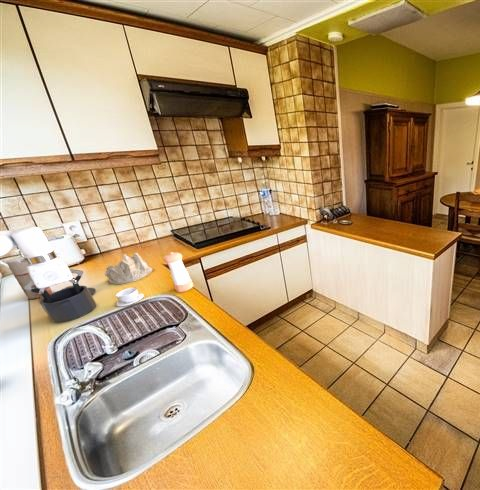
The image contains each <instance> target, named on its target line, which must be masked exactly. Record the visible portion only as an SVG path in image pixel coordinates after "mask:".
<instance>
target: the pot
mask: <svg viewBox="0 0 480 490" xmlns="http://www.w3.org/2000/svg"><path fill="white" fill-rule="evenodd" d="M79 286H80V287H81V289H79V290H80V292H76V290H75V288H74V287H68V286H66V287H67V288H66V287H64V288H61V289H59V290H57V291H54V292H52V294H50V296H51V301H49V302H48V300H45V299H44V298H43V299H42V300H41V299H40V301H39V305H40V306H41V307H42V309H43V310H44V311H45V313H46V315H47V316H48V318H49V319H50V321H51V322H53V323H54V324H64V323H68V322H72V321H75V320H77V319H80V318H82V317H85V316H86V315H88V314H90V313H92V312H93V311H94V310H96V308H97V306H98V305H97V302H96V301H95V298H94V297H93V295H91V293H90V292H89V290H88V288H89V287H88V286H86V285H79Z"/></svg>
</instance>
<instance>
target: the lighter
mask: <svg viewBox="0 0 480 490" xmlns="http://www.w3.org/2000/svg"><path fill="white" fill-rule="evenodd" d="M32 287H33V288H37V287H36V286H35V285H33V286H32ZM38 289H40V288H38ZM45 290H46V291H47V292H48V293H49V295H50V294H52V293H53V291H52V289H51V290H50V289H49V287H46V288H45ZM51 291H52V292H51ZM38 295H39V296H40V297H39V299H40V301H41V300H42V299H43V296H42V294H39V293H38Z"/></svg>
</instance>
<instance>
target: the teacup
mask: <svg viewBox="0 0 480 490" xmlns="http://www.w3.org/2000/svg"><path fill="white" fill-rule="evenodd" d="M138 290H139V289H138V288H137V287H127V288H125V289H123V290H120V291H118V292H117V293H116V294H115V297H116V298H117V299H118V301H117V302H116V303H115V305H116V306H117V307H126V306H130V305H133V304H135V303H137V302H139V301H141V300H143V298H144V297H145V294H143V293H139V291H138Z"/></svg>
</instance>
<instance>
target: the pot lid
mask: <svg viewBox="0 0 480 490" xmlns="http://www.w3.org/2000/svg"><path fill="white" fill-rule="evenodd" d="M67 287H74V286H73V285H69V286H68V285H67V286H66V287H65V288H67ZM87 288H88V290H89V292H90V293H91V295H92V296H93V295H94V294H95V293H96V291H97V290H96V288H94V287H87Z"/></svg>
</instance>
